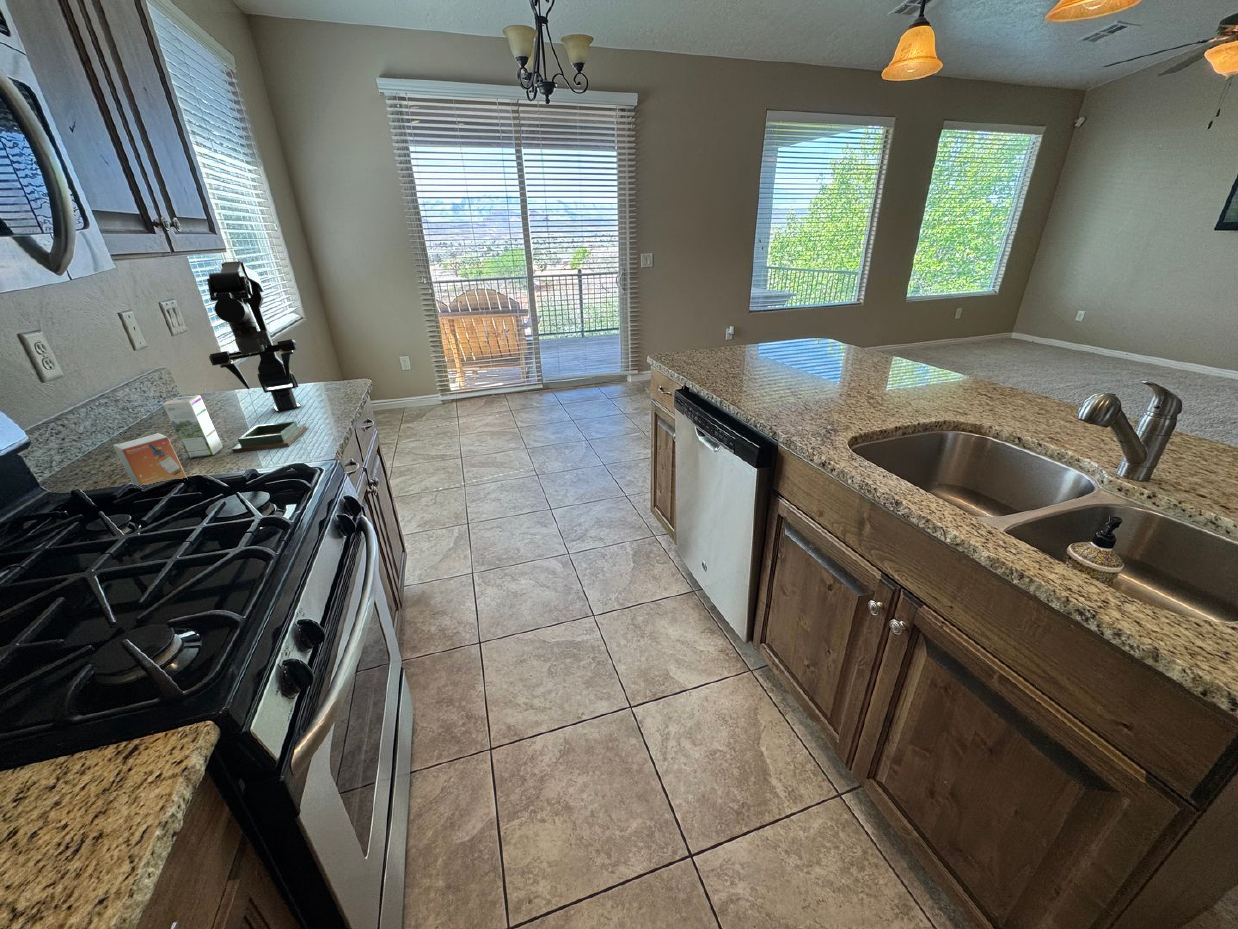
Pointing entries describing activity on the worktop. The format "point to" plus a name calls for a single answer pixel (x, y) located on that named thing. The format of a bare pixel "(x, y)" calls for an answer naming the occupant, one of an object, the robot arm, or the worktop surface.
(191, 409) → the syrup box
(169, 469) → the small box
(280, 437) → the pad
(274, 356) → the robot arm
